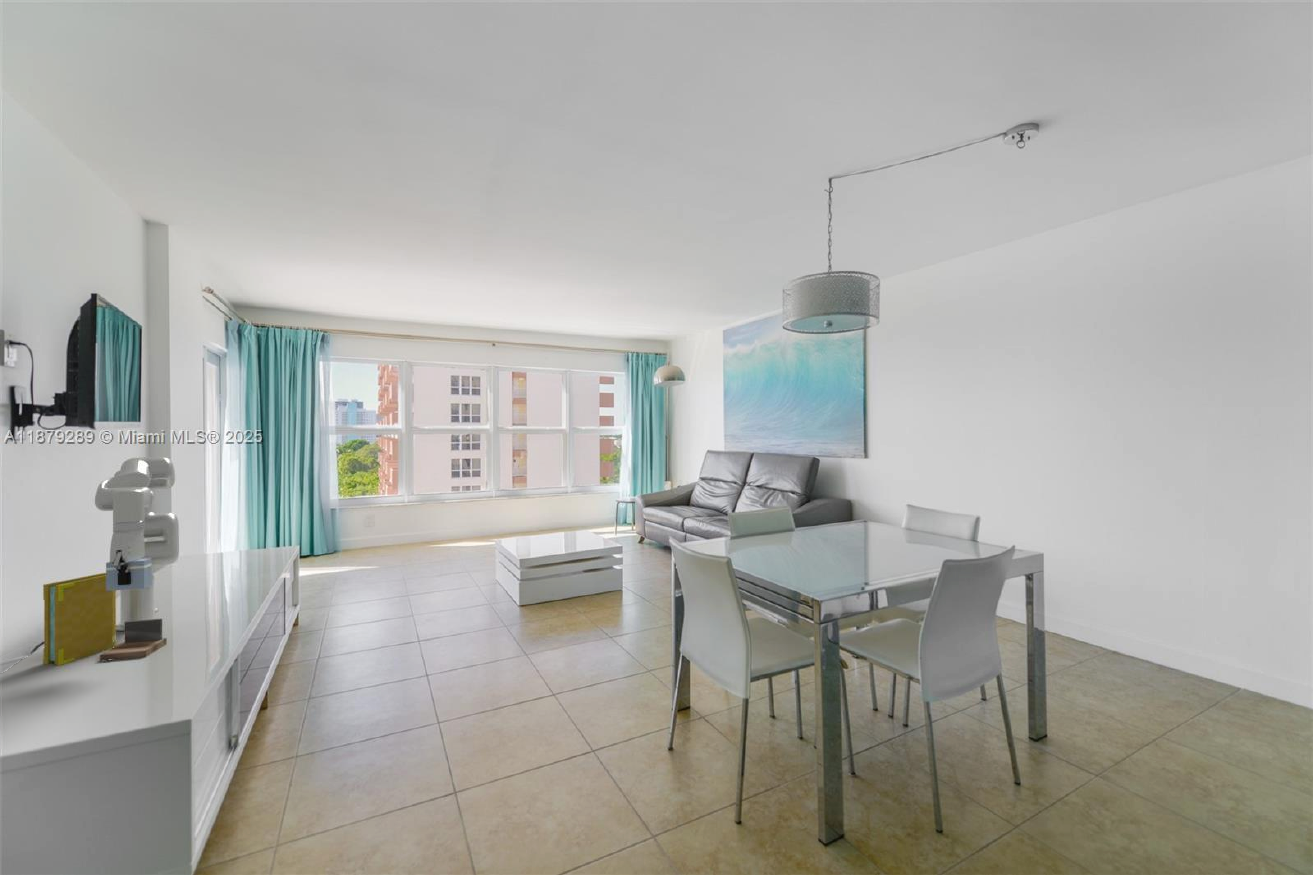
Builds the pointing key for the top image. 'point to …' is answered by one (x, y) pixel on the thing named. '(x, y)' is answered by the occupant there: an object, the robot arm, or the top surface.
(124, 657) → the brown l-shaped piece
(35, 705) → the top surface
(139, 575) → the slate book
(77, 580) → the book
